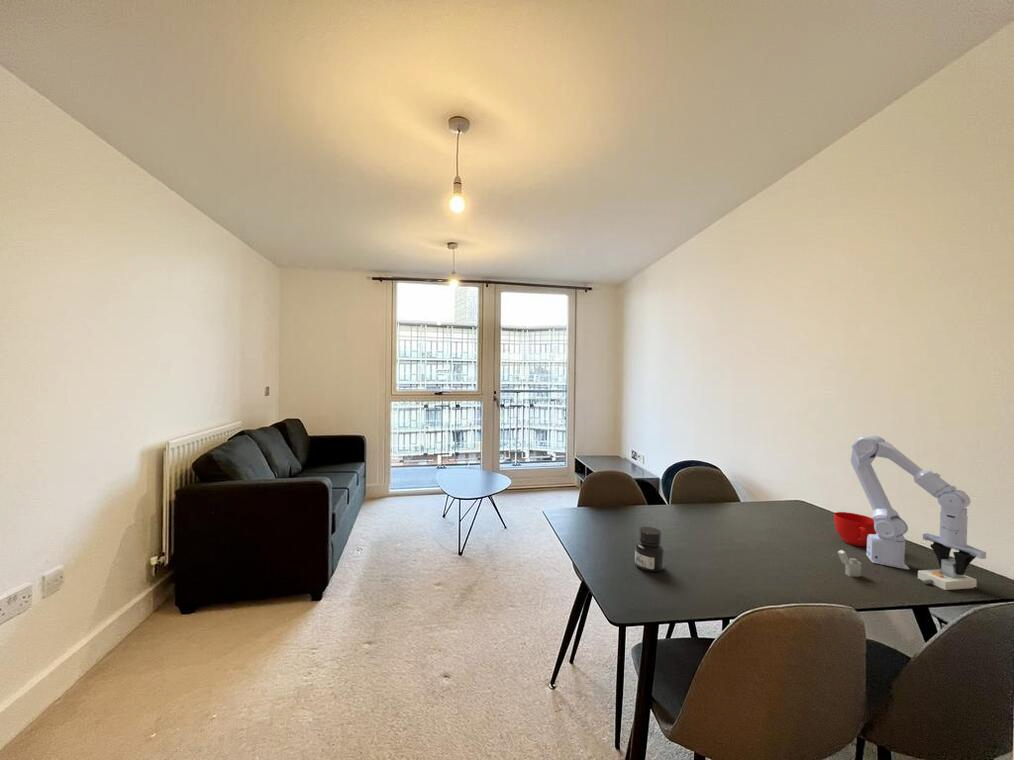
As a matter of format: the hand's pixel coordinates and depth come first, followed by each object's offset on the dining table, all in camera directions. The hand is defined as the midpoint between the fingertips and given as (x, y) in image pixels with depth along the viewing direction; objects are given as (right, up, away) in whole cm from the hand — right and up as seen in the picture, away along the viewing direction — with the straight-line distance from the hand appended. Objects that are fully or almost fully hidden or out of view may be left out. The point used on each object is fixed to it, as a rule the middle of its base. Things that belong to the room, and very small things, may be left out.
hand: (951, 571), depth 125 cm
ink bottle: (-94, -1, +5) cm, 95 cm away
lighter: (-30, -3, +3) cm, 30 cm away
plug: (0, -4, 0) cm, 4 cm away
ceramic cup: (-5, -4, +28) cm, 29 cm away
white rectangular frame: (-3, -4, -1) cm, 5 cm away
